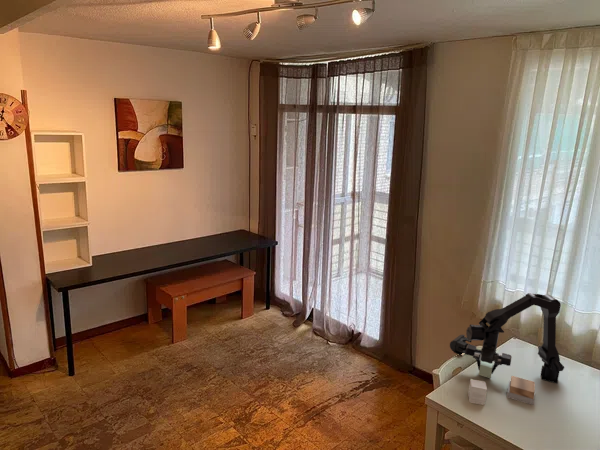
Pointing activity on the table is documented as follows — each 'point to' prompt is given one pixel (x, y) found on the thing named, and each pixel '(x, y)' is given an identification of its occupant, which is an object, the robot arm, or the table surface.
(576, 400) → the table surface
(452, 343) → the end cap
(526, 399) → the bottom slab
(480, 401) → the product box
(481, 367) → the green cube
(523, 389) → the top slab
